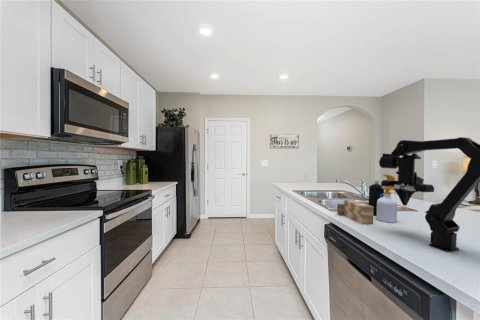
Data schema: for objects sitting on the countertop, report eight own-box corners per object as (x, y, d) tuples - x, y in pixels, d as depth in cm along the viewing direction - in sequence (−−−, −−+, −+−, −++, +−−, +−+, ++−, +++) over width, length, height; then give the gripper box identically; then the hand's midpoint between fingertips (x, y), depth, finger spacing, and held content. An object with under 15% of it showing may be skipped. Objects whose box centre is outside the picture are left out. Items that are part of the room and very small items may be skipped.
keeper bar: (373, 224, 115) (373, 206, 115) (361, 224, 114) (362, 206, 114) (353, 215, 131) (354, 200, 131) (343, 215, 130) (344, 200, 130)
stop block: (356, 215, 131) (357, 205, 131) (340, 215, 130) (340, 205, 130) (353, 214, 134) (353, 204, 134) (337, 214, 133) (337, 204, 133)
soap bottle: (372, 219, 124) (374, 174, 124) (383, 217, 128) (385, 173, 128) (389, 223, 116) (391, 175, 116) (400, 221, 120) (402, 175, 119)
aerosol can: (367, 215, 133) (369, 180, 132) (367, 212, 140) (368, 179, 140) (384, 217, 129) (385, 181, 129) (383, 213, 136) (384, 180, 136)
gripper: (443, 171, 93) (441, 209, 93) (397, 168, 110) (396, 200, 110) (425, 171, 89) (424, 211, 89) (380, 168, 106) (379, 201, 106)
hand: (404, 205), depth 99 cm, fingers closed
